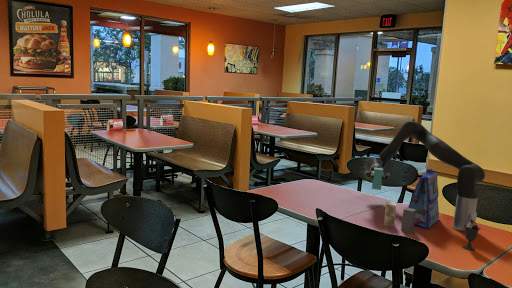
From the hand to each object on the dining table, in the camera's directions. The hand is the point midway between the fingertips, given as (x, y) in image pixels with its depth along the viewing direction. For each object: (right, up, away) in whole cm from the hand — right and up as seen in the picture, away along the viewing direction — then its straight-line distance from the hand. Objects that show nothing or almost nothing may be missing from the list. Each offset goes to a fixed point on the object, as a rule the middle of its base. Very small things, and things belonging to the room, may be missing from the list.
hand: (377, 177), depth 219 cm
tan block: (+3, -23, -10) cm, 25 cm away
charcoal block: (+9, -25, -17) cm, 31 cm away
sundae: (+31, -29, -34) cm, 54 cm away
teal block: (0, -6, +4) cm, 7 cm away
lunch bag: (+23, -23, -1) cm, 32 cm away
